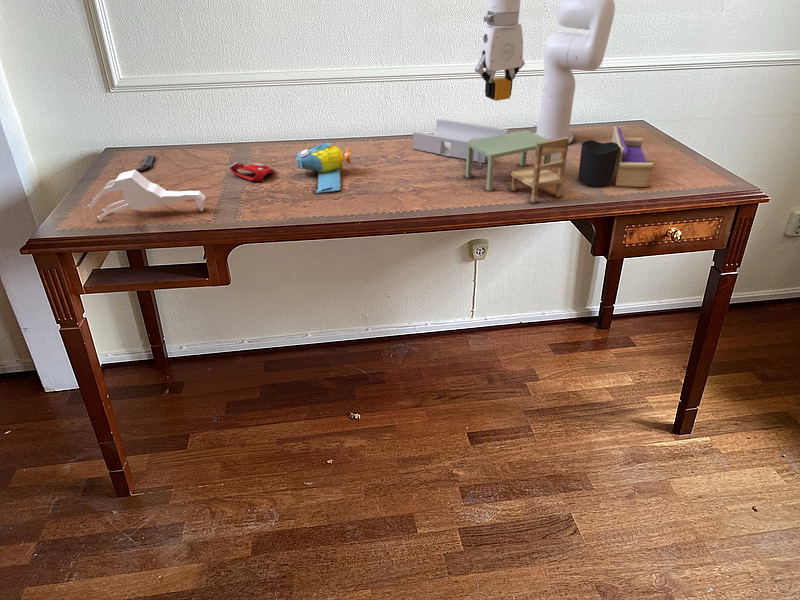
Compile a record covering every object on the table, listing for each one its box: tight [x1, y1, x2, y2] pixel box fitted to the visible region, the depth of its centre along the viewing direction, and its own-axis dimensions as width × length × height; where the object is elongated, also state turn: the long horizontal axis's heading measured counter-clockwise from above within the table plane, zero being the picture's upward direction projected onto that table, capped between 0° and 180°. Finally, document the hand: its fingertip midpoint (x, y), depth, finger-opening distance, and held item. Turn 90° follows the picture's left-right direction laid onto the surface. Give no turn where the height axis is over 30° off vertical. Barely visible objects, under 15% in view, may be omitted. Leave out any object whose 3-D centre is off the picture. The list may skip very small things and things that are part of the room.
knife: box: [135, 153, 155, 173], centre depth 181 cm, size 14×4×1 cm, turn 11°
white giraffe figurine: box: [87, 169, 207, 222], centre depth 149 cm, size 5×16×25 cm
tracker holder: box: [228, 161, 274, 182], centre depth 170 cm, size 12×4×10 cm
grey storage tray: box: [412, 118, 510, 169], centre depth 184 cm, size 25×21×8 cm
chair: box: [510, 137, 570, 204], centre depth 154 cm, size 10×9×15 cm
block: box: [492, 76, 512, 102], centre depth 154 cm, size 4×4×4 cm
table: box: [465, 129, 552, 192], centre depth 165 cm, size 12×20×10 cm, turn 117°
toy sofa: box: [611, 126, 654, 188], centre depth 166 cm, size 21×9×10 cm, turn 169°
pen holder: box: [577, 139, 619, 188], centre depth 161 cm, size 9×9×10 cm
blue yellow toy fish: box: [295, 142, 352, 194], centre depth 170 cm, size 28×9×15 cm
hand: (498, 95), depth 155 cm, fingers closed on block, 4 cm apart
